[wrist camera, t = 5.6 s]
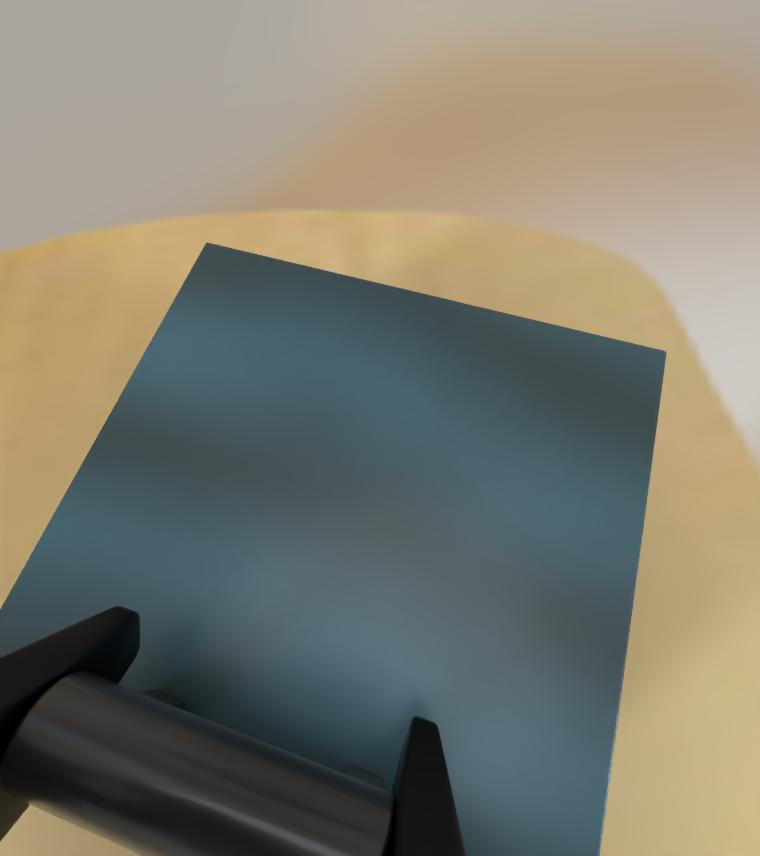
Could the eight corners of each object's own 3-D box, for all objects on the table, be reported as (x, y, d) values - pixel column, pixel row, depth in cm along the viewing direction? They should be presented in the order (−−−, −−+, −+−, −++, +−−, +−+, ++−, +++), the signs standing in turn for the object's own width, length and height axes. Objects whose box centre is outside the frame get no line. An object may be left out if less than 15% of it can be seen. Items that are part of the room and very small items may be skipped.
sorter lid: (565, 996, 9) (703, 1305, 5) (-44, 731, 10) (-317, 787, 7) (654, 365, 13) (765, 244, 9) (214, 258, 15) (146, 120, 11)
